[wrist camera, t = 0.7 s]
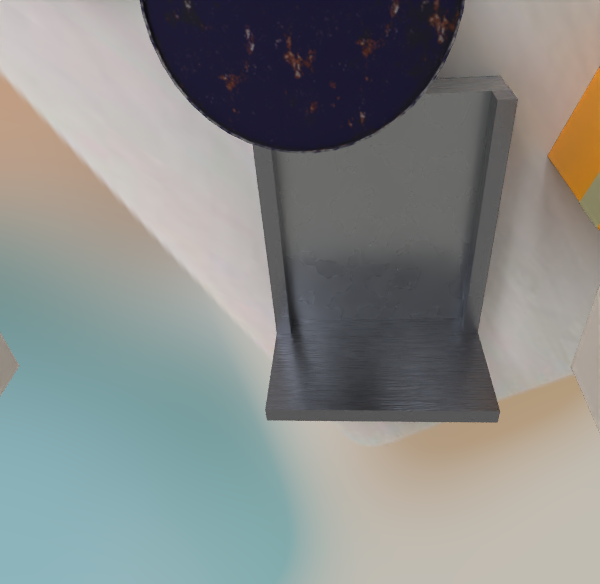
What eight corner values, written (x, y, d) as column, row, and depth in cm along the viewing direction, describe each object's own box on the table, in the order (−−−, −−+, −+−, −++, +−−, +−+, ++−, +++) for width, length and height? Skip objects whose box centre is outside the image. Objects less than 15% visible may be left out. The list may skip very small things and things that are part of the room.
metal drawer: (258, 87, 32) (225, 167, 24) (500, 75, 31) (559, 155, 22) (283, 308, 43) (267, 420, 34) (465, 306, 41) (497, 422, 33)
